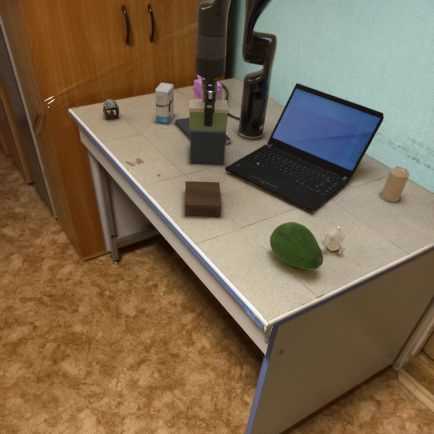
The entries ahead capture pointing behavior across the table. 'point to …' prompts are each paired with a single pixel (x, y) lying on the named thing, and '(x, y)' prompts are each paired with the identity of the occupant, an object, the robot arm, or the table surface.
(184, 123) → the notebook
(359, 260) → the table surface
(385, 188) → the candle
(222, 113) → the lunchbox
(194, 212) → the low shelf
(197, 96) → the teapot
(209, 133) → the blue box
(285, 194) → the laptop
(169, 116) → the ink box
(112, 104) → the helmet
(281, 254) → the fruit
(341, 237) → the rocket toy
